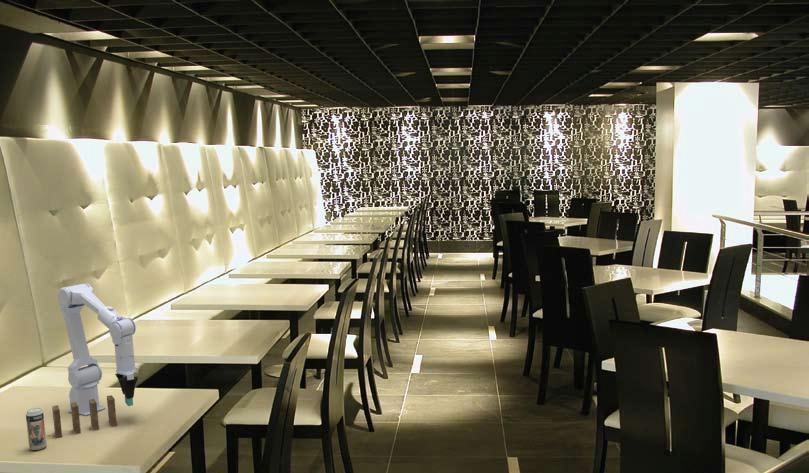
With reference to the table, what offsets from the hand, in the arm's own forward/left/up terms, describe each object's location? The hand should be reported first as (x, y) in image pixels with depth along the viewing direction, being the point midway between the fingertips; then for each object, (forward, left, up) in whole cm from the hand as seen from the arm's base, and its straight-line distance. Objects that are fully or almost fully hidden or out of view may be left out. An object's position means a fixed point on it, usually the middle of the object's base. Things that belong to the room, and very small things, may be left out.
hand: (128, 396), depth 258 cm
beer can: (-7, -29, -9) cm, 31 cm away
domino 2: (-8, -14, -8) cm, 19 cm away
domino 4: (-3, -5, -8) cm, 10 cm away
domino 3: (-6, -9, -8) cm, 14 cm away
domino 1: (-11, -19, -8) cm, 24 cm away
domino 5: (0, 0, -3) cm, 3 cm away
